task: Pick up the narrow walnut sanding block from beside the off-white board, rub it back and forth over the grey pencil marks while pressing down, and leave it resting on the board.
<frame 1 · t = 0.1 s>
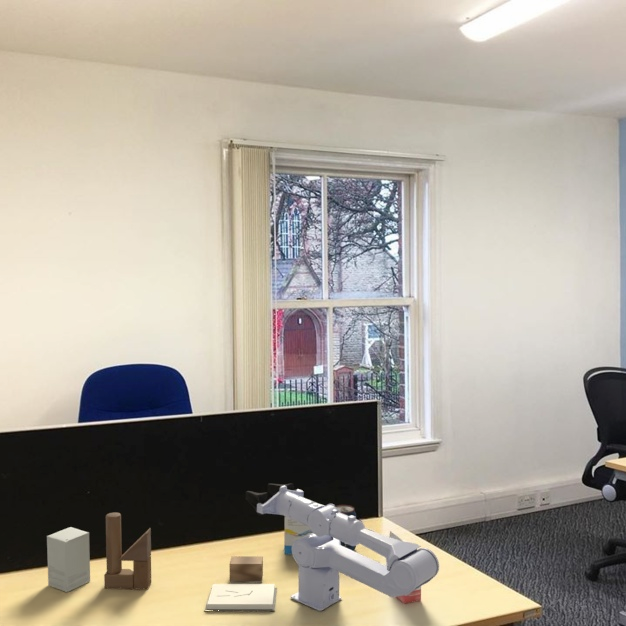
hand: (257, 491, 176), 22 cm above the table, tool horizontal, fingers open, 7 cm apart
ink box: (299, 549, 193), on the table
supplement box: (69, 584, 172), on the table
ink cartridge box: (404, 595, 166), on the table
marked board: (241, 599, 163), on the table
sanding block: (246, 579, 174), on the table
wooden block: (128, 586, 170), on the table
soda can: (343, 551, 192), on the table
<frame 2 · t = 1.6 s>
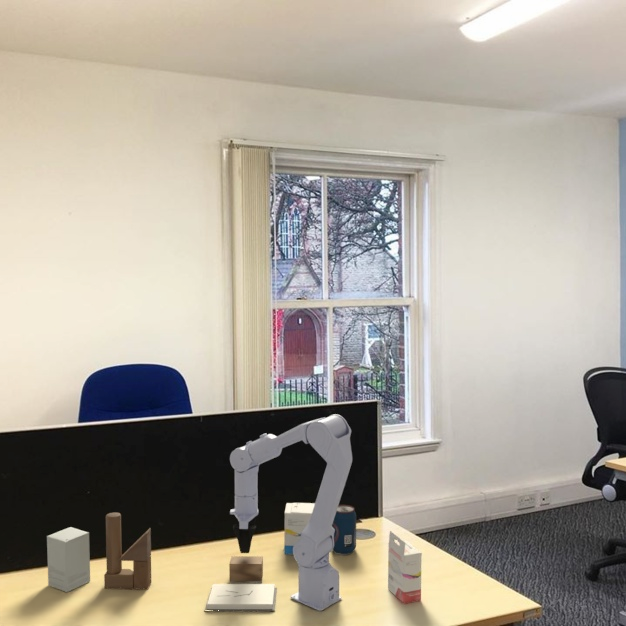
hand: (246, 546, 174), 8 cm above the table, tool pointing down, fingers open, 7 cm apart
nothing on the table moved.
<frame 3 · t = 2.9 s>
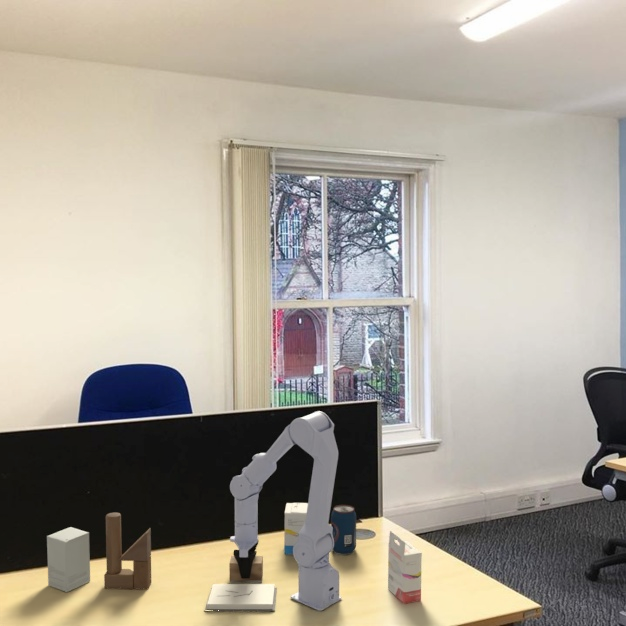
hand: (246, 573, 174), 1 cm above the table, tool pointing down, fingers closed on sanding block, 4 cm apart
sanding block: (246, 578, 174), on the table, touching gripper
everything else where it was.
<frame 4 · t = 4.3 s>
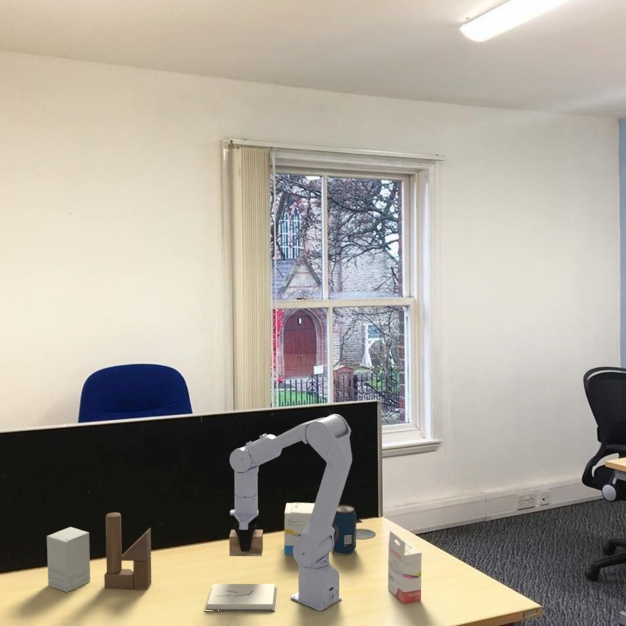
hand: (246, 546, 174), 8 cm above the table, tool pointing down, fingers closed on sanding block, 4 cm apart
sanding block: (246, 552, 174), point 7 cm above the table, touching gripper
everything else where it was.
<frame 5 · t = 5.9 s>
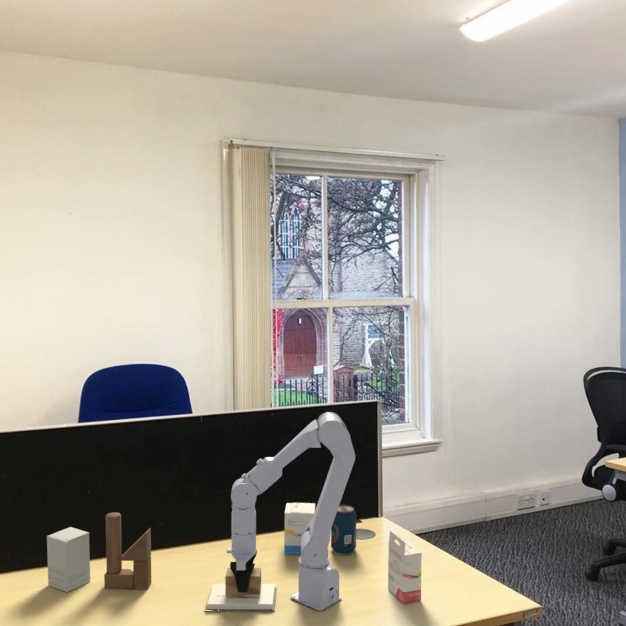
hand: (243, 586, 163), 3 cm above the table, tool pointing down, fingers closed on sanding block, 4 cm apart
sanding block: (243, 592, 163), point 2 cm above the table, touching gripper
everything else where it was.
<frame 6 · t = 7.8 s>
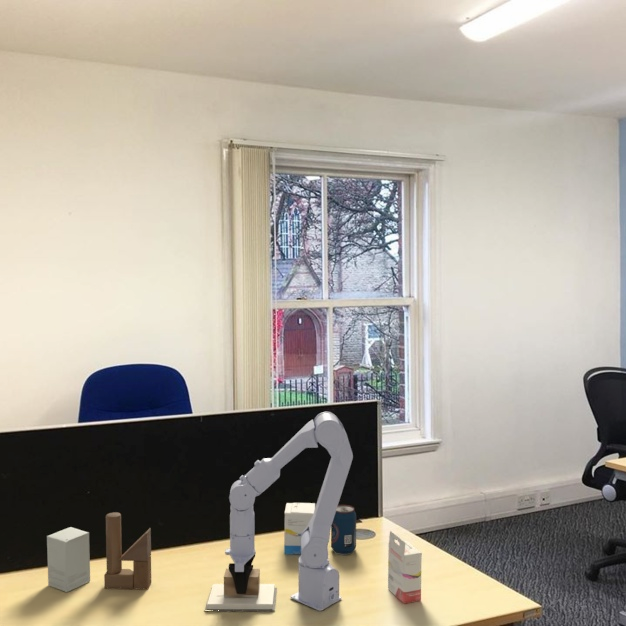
hand: (242, 588, 163), 3 cm above the table, tool pointing down, fingers closed on sanding block, 4 cm apart
sanding block: (241, 593, 163), point 2 cm above the table, touching gripper
everything else where it was.
when the fingers open (3 cm above the table, at t = 9.2 s): sanding block stays where it is, resting on marked board.
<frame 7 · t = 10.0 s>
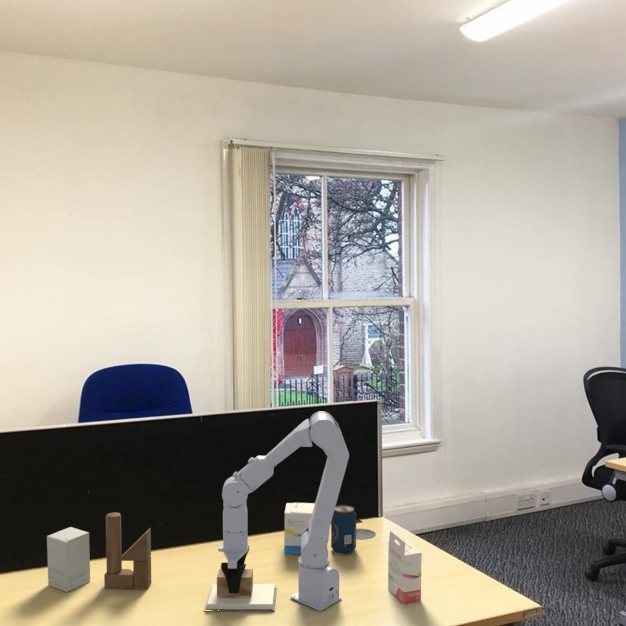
hand: (235, 585, 163), 4 cm above the table, tool pointing down, fingers open, 7 cm apart
sanding block: (235, 593, 163), point 2 cm above the table, touching marked board
everything else where it was.
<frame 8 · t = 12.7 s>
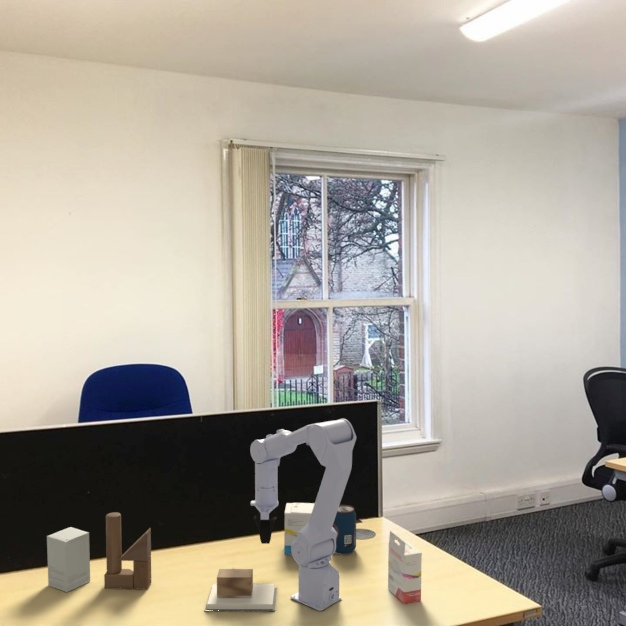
hand: (266, 537, 177), 9 cm above the table, tool pointing down, fingers open, 7 cm apart
nothing on the table moved.
at the end: sanding block inside the target area on the marked board (0.9 cm from its centre), point 1.5 cm above the marked board's base; sanding block tilted 0°; the gripper is holding nothing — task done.
